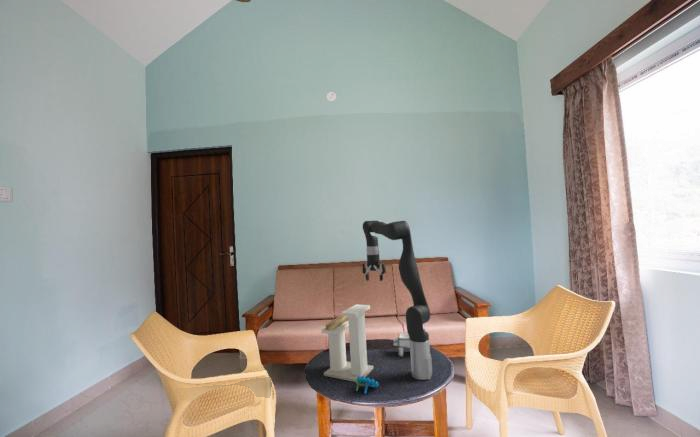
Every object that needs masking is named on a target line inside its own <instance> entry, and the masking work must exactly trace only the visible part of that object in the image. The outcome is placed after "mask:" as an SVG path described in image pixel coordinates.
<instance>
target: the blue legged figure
mask: <svg viewBox="0 0 700 437" xmlns="http://www.w3.org/2000/svg"><path fill="white" fill-rule="evenodd" d="M354 383H356V389H355V391H356V392H359V391H358V390H359V387H364V391H363V394H364V395H367V393H368V388H369V387H371V388H374V387H375V388H377V387H379V385H380V384H379V382H378V381H377V380H375V379H374V378H371V379H370V377H368V376H366V377H364V376H361V377H360V376H358V377H357V379H356V380H355V382H354Z"/></svg>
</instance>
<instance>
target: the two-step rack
mask: <svg viewBox="0 0 700 437" xmlns="http://www.w3.org/2000/svg"><path fill="white" fill-rule="evenodd" d="M370 309H371V305H369V304H358V303H356V304H354V305H352V306H350V307H349V308H347V309H346V310H343V311H341V312H340V313H341V315H340V316H348V321H346V322H344V323H343V324H341V325H340V326H338V327H336V328H335V329H333V330H332V331H328V330H326V326H325V327H324V328H322V329H321V334H326V335H328V347H329V348H328V349H329V366H330V368H328V369H327V370H325V371H324V372H323V376H324V377H327V378H328V377H329V378H334V379H339V380H345V381H348V382H349V381H350V382H352V383H353V382H354V383H355V380H356V379H357V377H358V376H360V377H361V376H364V377H365V378H366V377H368V375H369V374H370V373H371V372H372V371H373V370H374V368H375V367H374V365H370V364H368V355H367V353H368V352H367V336H366V335H367V334H366V317H365V313H366V312H367V311H368V310H370ZM346 328H348V334H349V339H348V340H349V353H350V361H349V360H348V361H347V350H346V334H345V333H346V332H345V330H346Z"/></svg>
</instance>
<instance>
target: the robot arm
mask: <svg viewBox="0 0 700 437" xmlns="http://www.w3.org/2000/svg"><path fill="white" fill-rule="evenodd" d="M410 229H411V228H410V226H409V224H408V222H407V221H406V220H397V221H392V222H390V223H386V222H384V221H379V220H366V221H363V223H362V231H363V234H364V236H365V241H366V262H367V263H365V262H364V263H362V274H364V275H365V280H366V281H367V282H368V281H370V274H369V273H370V272H371V271H372V272H374V271H375V272H377V273H378V274H379V281H380V282H382V281H383V280H384V275H385V274H386V273H387V271H386V270H387V269H386V264H385V262H384V263H381V262H380V248H379V237H378V236H376V235H372V234H371V233H374V234H377V235H382V236H384V237H385V238H387V239H388V240H391V241H399V240H401V242H402V251H401V255H400V259H399V262H398V270H399V276H400V279H401V282H402V284H403V285H404V287H406V290H408V292H409V293H410V295H411V299H412V303H413V305H412V306H410V307H408V308H407V309H406V312H405V323H406V331H407V334H409V340H410V348H409V352H410V353H409V354H410V356H409V357H410V370H411V377H412V378H414V379H416V380H420V381H423V380H424V381H425V380H428V381H429V380H431V378H432V376H433V363H432V362H433V361H432V359H433V358H432V354H431V350H430V349H431V348H430V347H431V346H430V337H429V336H430V335H429V333H428V332H427V331H426V330H425V331H424V330H423V325H425V324H426V323H428V322H429V321H430V319H431V311H430V307H429V304H428V302H427V298H426V294H425V292H424V289H423V288H424V287H423V285H422V280H421V276H420V272H419V268H418V264H417V261H416V256H415V253H414V247H413V240H412V239H413V238H412V234H411V230H410ZM380 267H381V268H380Z"/></svg>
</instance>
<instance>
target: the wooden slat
mask: <svg viewBox="0 0 700 437" xmlns="http://www.w3.org/2000/svg"><path fill="white" fill-rule="evenodd" d="M346 321H347V322H349V321H348V316H341V315H339V316H337V317H335V318H334V319H331V321H329V322H327V323H325V327H326V330H328V331H332V330H333V329H335V328H336V327H338V326H340V325H341V324H343V323H344V322H346Z"/></svg>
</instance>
